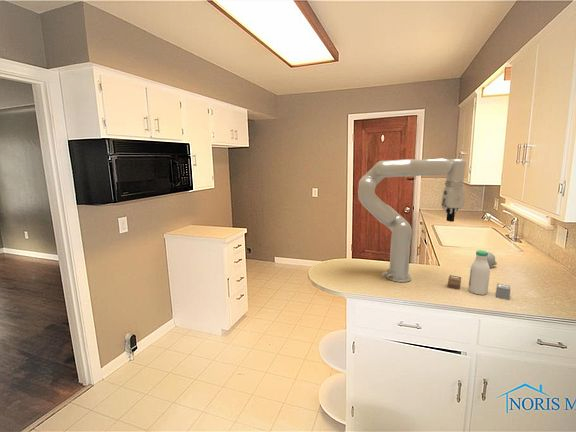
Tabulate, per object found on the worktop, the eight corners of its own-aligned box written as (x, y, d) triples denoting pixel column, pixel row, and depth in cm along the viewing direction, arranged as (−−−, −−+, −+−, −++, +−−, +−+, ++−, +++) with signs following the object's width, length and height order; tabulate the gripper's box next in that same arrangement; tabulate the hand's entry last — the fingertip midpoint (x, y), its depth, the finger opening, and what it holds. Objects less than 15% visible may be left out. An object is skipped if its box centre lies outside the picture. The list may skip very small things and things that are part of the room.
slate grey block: (509, 300, 134) (510, 289, 133) (495, 297, 137) (496, 286, 136) (508, 295, 138) (510, 285, 137) (495, 293, 141) (497, 283, 140)
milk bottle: (491, 293, 140) (496, 253, 136) (478, 296, 138) (483, 254, 134) (476, 287, 147) (481, 248, 144) (464, 289, 145) (468, 249, 141)
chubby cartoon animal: (473, 270, 176) (470, 258, 174) (487, 260, 179) (485, 248, 177) (485, 274, 170) (482, 261, 167) (499, 264, 173) (497, 251, 170)
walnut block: (459, 290, 145) (460, 280, 144) (447, 287, 148) (448, 277, 147) (460, 286, 149) (461, 276, 148) (449, 284, 152) (449, 274, 151)
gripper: (447, 185, 141) (443, 223, 145) (472, 185, 145) (468, 221, 149) (436, 184, 148) (432, 220, 152) (460, 183, 152) (455, 218, 156)
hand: (450, 221), depth 150 cm, fingers closed
